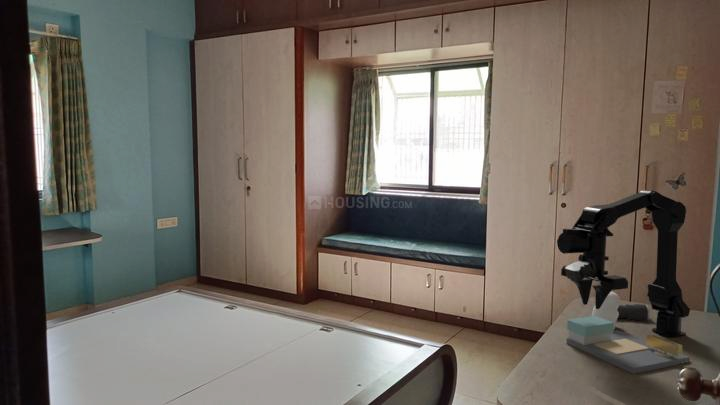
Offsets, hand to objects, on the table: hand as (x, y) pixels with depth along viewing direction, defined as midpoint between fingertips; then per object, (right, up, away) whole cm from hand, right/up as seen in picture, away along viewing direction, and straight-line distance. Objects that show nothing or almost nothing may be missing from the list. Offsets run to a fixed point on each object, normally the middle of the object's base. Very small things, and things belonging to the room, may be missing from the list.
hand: (591, 306), depth 143 cm
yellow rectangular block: (+15, -11, -9) cm, 20 cm away
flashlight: (+15, -11, +25) cm, 31 cm away
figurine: (+11, -10, +15) cm, 21 cm away
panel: (+7, -12, -5) cm, 14 cm away
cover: (0, -7, +1) cm, 7 cm away
